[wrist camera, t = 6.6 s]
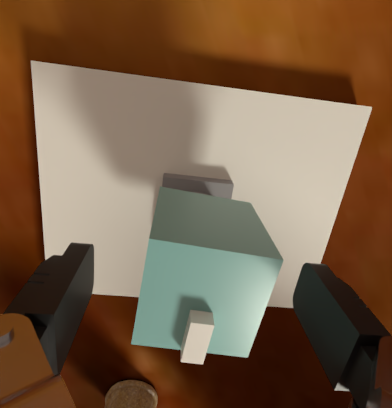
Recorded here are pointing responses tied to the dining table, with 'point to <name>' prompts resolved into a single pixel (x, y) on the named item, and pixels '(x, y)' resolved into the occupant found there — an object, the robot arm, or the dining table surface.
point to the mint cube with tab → (205, 276)
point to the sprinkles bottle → (131, 395)
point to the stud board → (184, 164)
